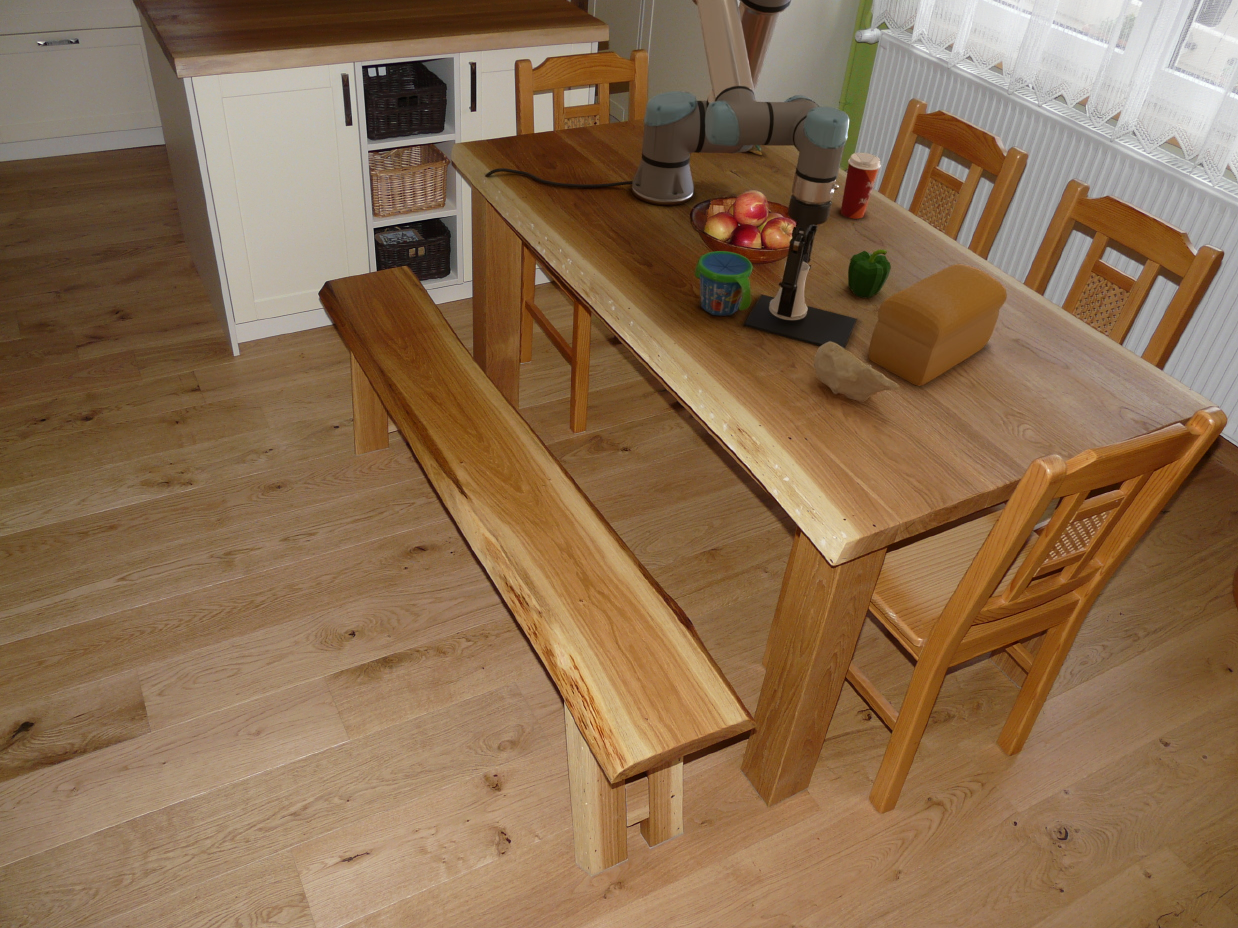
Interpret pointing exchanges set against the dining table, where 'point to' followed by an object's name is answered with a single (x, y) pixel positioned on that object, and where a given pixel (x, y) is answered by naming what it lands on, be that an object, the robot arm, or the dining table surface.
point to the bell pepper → (868, 273)
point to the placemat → (802, 324)
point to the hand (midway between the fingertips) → (788, 306)
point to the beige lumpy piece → (849, 373)
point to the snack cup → (724, 282)
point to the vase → (799, 303)
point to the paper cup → (859, 184)
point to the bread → (936, 323)
